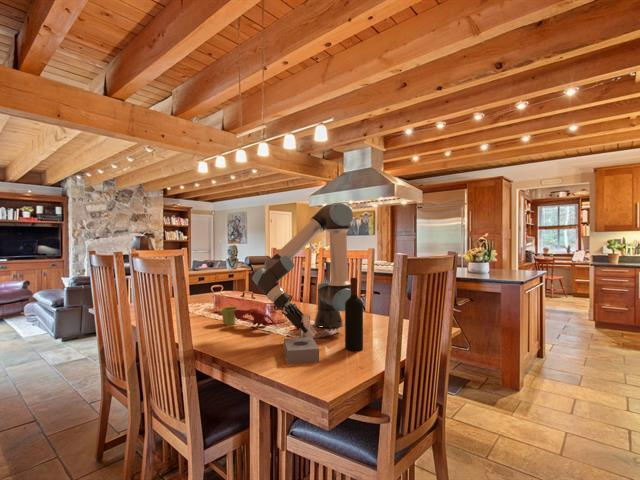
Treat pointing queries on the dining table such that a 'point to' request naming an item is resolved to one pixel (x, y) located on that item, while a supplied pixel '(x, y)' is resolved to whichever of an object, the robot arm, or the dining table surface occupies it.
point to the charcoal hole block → (301, 350)
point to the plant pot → (228, 315)
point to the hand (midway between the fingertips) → (313, 335)
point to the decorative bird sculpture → (254, 316)
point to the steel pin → (305, 320)
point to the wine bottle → (354, 320)
